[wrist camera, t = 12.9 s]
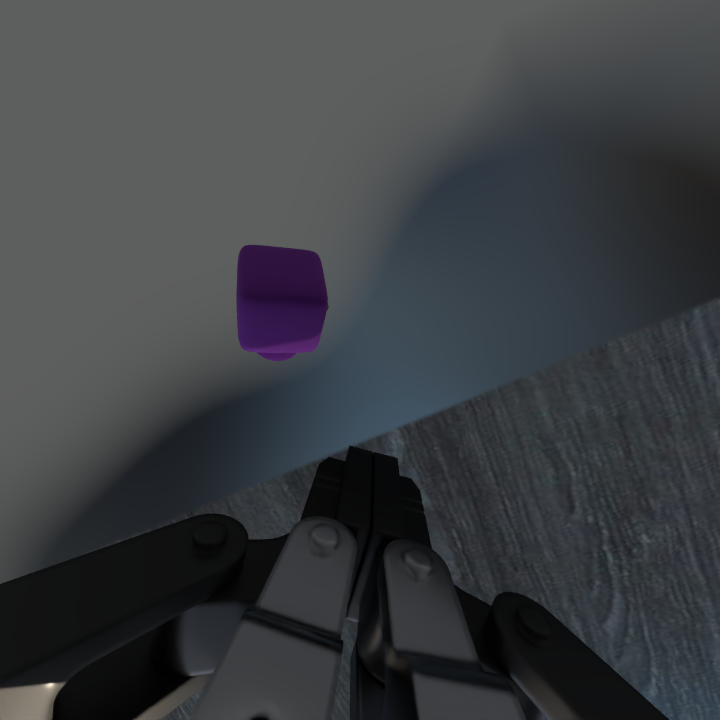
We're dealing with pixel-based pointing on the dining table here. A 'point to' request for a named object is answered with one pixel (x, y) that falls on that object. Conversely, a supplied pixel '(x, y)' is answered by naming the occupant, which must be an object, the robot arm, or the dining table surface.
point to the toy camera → (280, 301)
